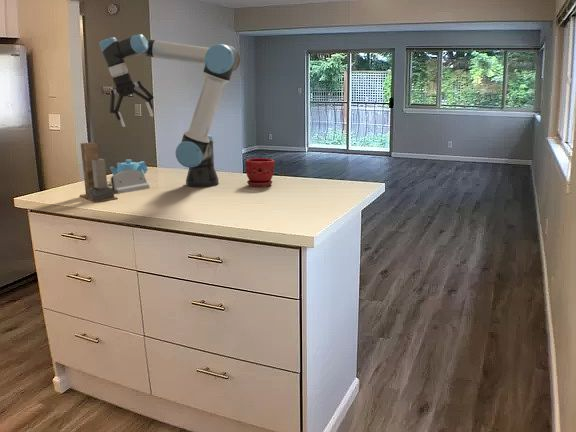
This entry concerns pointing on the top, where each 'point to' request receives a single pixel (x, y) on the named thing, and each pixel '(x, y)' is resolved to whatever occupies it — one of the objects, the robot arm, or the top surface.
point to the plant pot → (259, 172)
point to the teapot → (129, 167)
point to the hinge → (128, 181)
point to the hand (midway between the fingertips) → (138, 121)
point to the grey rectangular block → (99, 174)
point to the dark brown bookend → (92, 194)
